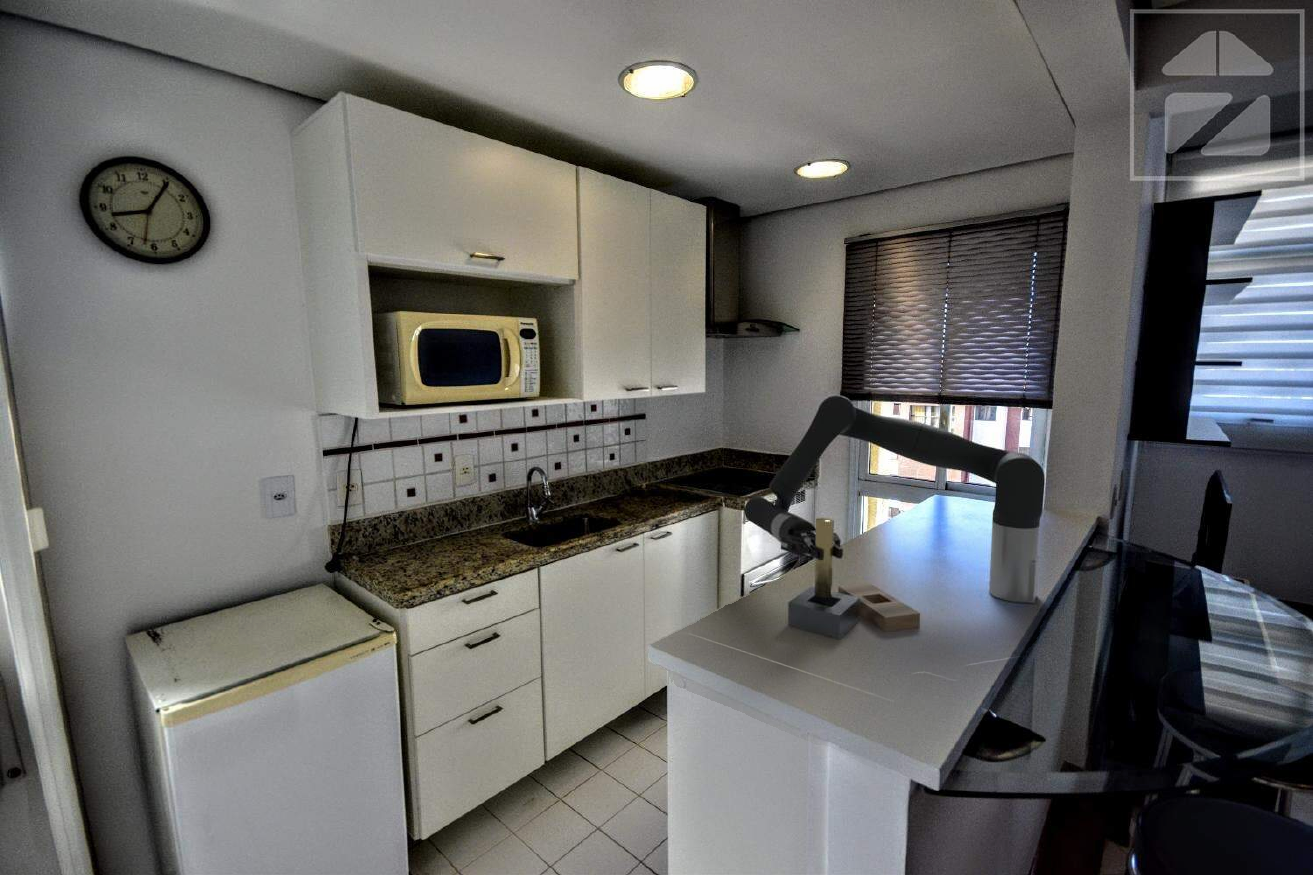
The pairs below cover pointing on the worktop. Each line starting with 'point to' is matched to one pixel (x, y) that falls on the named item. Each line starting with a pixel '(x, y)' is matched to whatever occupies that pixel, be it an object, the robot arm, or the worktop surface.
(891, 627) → the beam
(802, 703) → the worktop surface
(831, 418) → the robot arm
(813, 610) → the seat block
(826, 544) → the axle
